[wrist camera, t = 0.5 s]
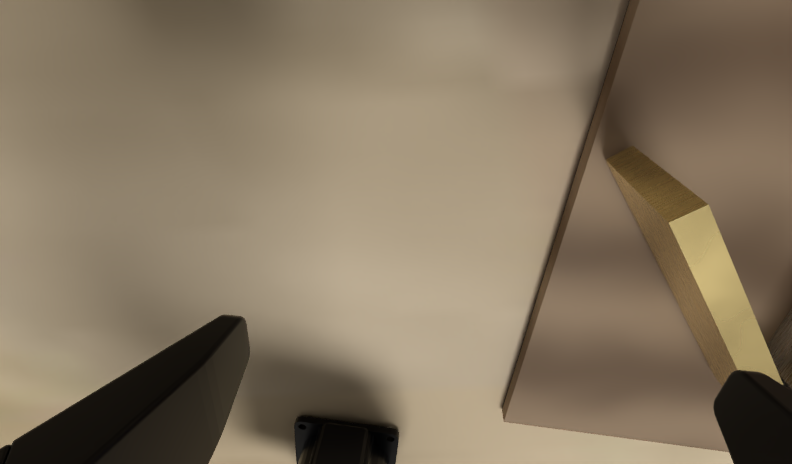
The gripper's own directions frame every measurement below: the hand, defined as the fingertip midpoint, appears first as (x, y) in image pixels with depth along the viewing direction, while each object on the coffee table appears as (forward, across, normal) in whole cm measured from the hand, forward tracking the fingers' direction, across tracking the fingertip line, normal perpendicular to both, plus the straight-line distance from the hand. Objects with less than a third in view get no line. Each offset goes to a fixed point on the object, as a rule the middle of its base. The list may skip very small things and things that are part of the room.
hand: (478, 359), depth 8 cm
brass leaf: (+10, -10, +4) cm, 14 cm away
